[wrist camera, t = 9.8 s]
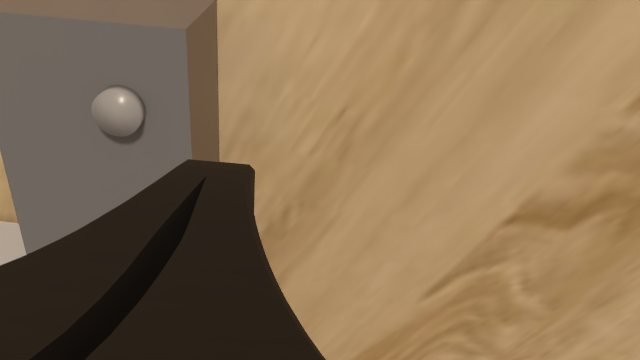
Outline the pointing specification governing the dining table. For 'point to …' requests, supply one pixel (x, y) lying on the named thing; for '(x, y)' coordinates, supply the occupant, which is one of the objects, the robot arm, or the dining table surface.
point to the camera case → (101, 103)
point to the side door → (10, 242)
